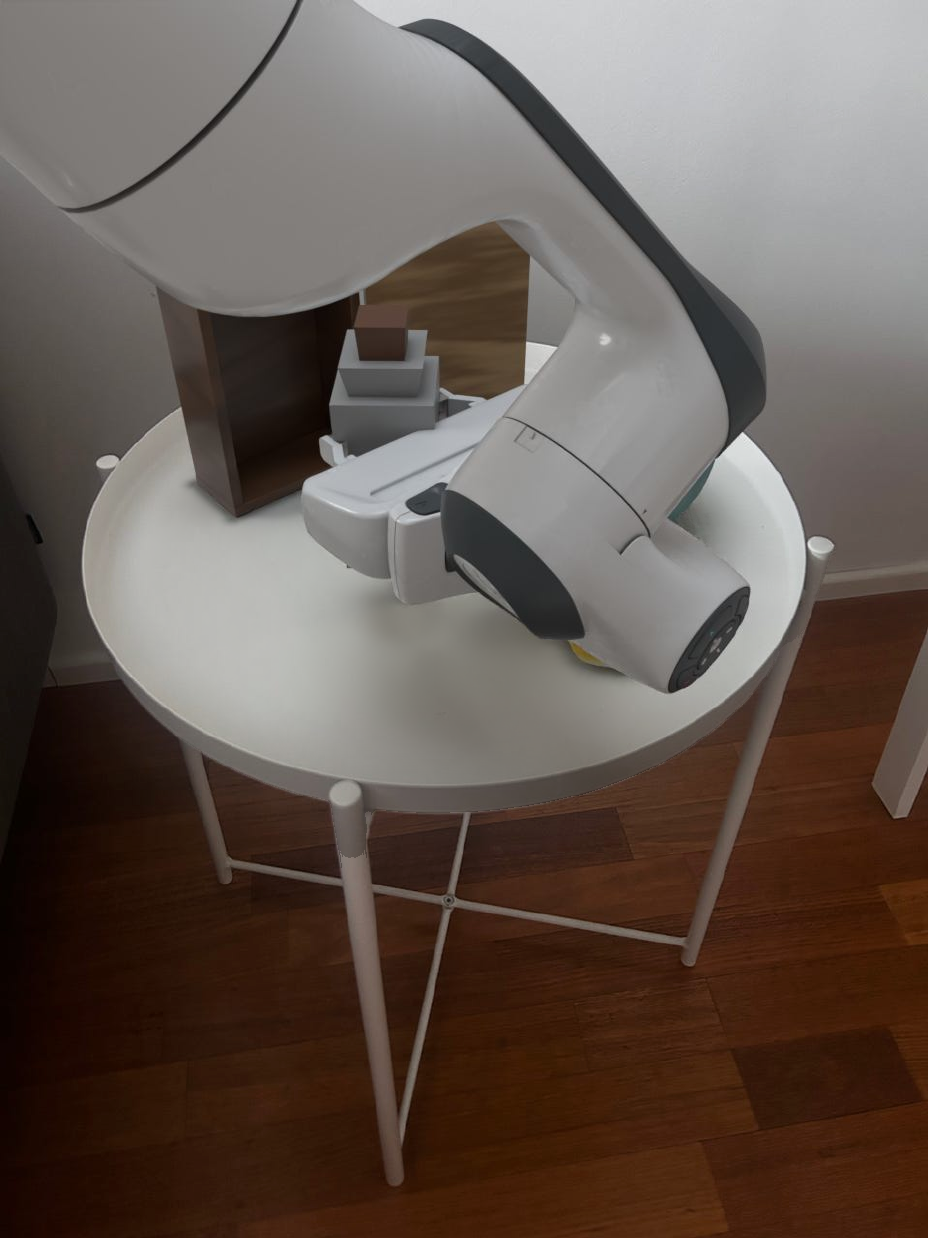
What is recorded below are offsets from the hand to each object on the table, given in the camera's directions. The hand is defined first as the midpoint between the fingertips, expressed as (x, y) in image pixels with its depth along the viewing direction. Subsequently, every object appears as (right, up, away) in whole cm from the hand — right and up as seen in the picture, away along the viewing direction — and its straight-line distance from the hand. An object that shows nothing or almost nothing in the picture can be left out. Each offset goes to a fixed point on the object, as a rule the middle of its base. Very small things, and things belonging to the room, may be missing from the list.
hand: (380, 421), depth 70 cm
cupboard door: (+4, +5, +30) cm, 31 cm away
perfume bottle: (+1, -8, +6) cm, 10 cm away
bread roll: (+17, -15, +9) cm, 25 cm away
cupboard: (-11, 0, +26) cm, 28 cm away
